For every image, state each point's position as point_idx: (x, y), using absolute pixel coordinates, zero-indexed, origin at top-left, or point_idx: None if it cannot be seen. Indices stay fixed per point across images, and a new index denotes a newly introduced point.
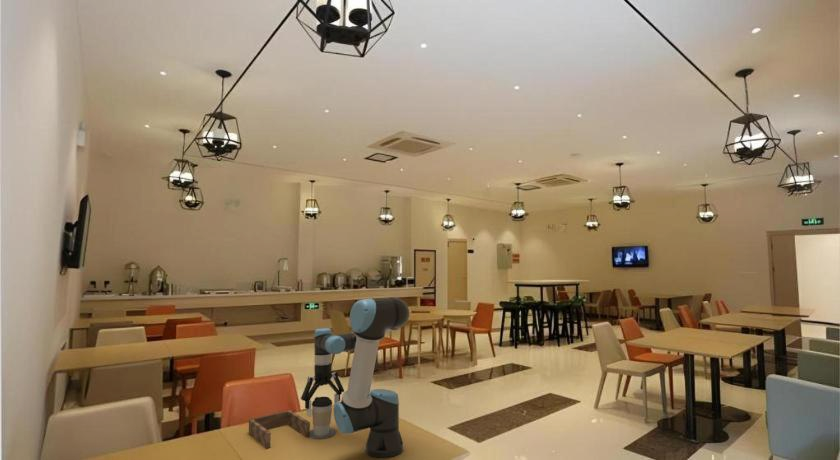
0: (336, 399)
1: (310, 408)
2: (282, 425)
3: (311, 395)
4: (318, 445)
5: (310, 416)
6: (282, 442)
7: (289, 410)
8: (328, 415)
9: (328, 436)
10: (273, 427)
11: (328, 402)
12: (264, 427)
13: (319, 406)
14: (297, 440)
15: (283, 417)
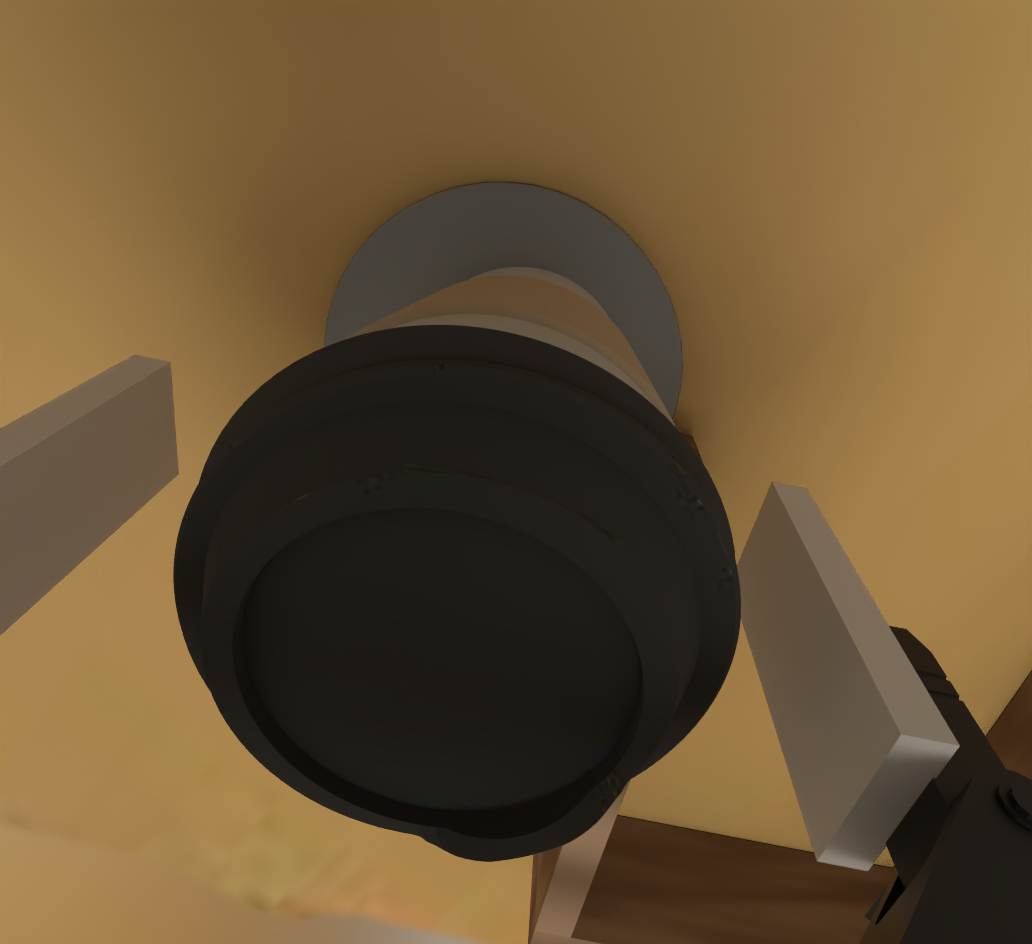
0: (20, 503)
1: (847, 589)
2: (621, 819)
3: (979, 936)
4: (812, 73)
5: (793, 487)
6: (948, 533)
7: (540, 942)
8: (467, 292)
9: (539, 187)
10: (709, 838)
11: (388, 411)
12: (800, 876)
13: (692, 462)
14: (820, 447)
15: (618, 890)
